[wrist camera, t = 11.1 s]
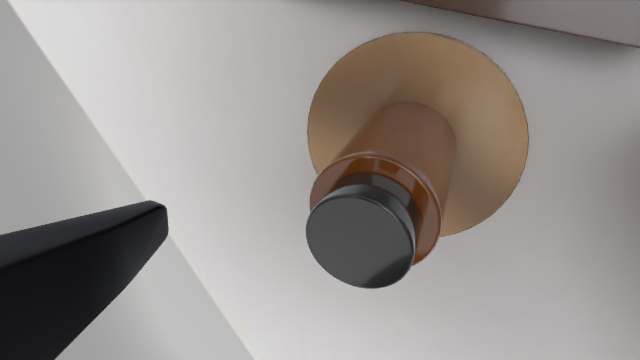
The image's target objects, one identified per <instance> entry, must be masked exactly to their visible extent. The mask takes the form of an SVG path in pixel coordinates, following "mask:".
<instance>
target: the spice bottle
mask: <svg viewBox="0 0 640 360" xmlns="http://www.w3.org/2000/svg"><path fill="white" fill-rule="evenodd" d="M456 156H457V142H456V137H455V134H454V132H453V130H452V128H451V126H450V125H449V123H448V122H447V121H446V119H445V118H444V117H443V116H442V115H441V114H439V113H438V112H437V111H435V110H434V109H432V108H430V107H428V106H426V105H423V104H420V103H415V102H397V103H392V104H389V105H386V106H384V107H382V108H380V109H379V110H377V111H376V112H375V113H374V114H373V115H371V117H370V118H369V119H368V120H367V121H366V122H365V123H364V124H363V125H362V127H361V128H360V129H359V130H358V131H357V132H356V133H355V134H354V135H353V137H352V138H351V139H350V140H349V141H348V142H347V143H346V144H345V145H344V147H343V148H342V149H341V150H340V151H339V152H338V153H337V154H336V155H335V157H334V158H333V159H332V160H331V161H330V162H329V163H328V164H327V165H326V167H325V168H324V169H323V170H322V171H321V172H320V173H319V175H318V176H317V178H316V179H315V181H314V184H313V186H312V189H311V193H310V214H309V217H308V220H307V224H306V238H307V243H308V246H309V248H310V250H311V253H312V254H313V256H314V258H315V259H316V260H317V262H318V263H319V264H320V265H321V266H322V267H323V268H324V269H325V270H326V271H327V272H328V273H329V274H331V275H332V276H333V277H335V278H337V279H338V280H340V281H342V282H344V283H346V284H349V285H352V286H355V287H359V288H366V289H376V288H383V287H387V286H390V285H392V284H394V283H396V282H398V281H399V280H401V279H402V278H403V277H404V276H405V275H406V274H407V273H408V271H409V270H410V268H411V266H413V265H415V264H417V263H419V262H420V261H422V260H423V259H424V258H426V257H427V256H428V255H429V254H430V253H431V251H432V250H433V249H434V247H435V246H436V244H437V242H438V240H439V236H440V233H441V229H442V224H443V219H444V214H445V209H446V205H447V200H448V195H449V190H450V186H451V181H452V176H453V171H454V167H455V162H456Z"/></svg>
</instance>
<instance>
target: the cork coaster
mask: <svg viewBox="0 0 640 360" xmlns="http://www.w3.org/2000/svg"><path fill="white" fill-rule="evenodd" d="M397 102H415V103H420V104H423V105H426V106H428V107H430V108H432V109H434V110H435V111H437V112H438V113H439V114H441V115H442V116H443V117H444V118H445V119H446V121H447V122H448V123H449V125H450V126H451V128H452V130H453V132H454V134H455V137H456V142H457V156H456V162H455V167H454V171H453V176H452V181H451V186H450V190H449V195H448V200H447V205H446V209H445V214H444V219H443V224H442V229H441V233H440V236H439V237H443V236H448V235H451V234H455V233H459V232H461V231H464V230H466V229H469V228H471V227H473V226H475V225H477V224H479V223H480V222H482V221H484V220H485V219H486V218H488V217H489V216H491V215H492V214H493V213H494V212H495V211H496V210H498V209H499V208H500V207H501V206H502V205H503V204H504V202H505V201H506V200H507V199H508V198H509V196H510V195H511V194H512V192H513V190H514V189H515V187H516V185H517V184H518V182H519V180H520V177H521V175H522V172H523V170H524V167H525V163H526V159H527V154H528V142H529V137H528V125H527V120H526V116H525V112H524V108H523V105H522V102H521V100H520V98H519V95H518V93H517V91H516V89H515V88H514V86H513V85H512V83H511V81H510V80H509V78H508V77H507V76H506V75H505V73H504V72H503V71H502V70H501V69H500V68H499V66H498V65H496V64H495V63H494V62H493V61H492V60H491V59H490V58H488V57H487V56H486V55H485V54H483V53H482V52H480V51H479V50H477V49H475V48H474V47H472V46H470V45H468V44H466V43H464V42H462V41H459V40H457V39H454V38H451V37H447V36H444V35H441V34H434V33H427V32H404V33H396V34H390V35H387V36H383V37H380V38H376V39H374V40H372V41H369V42H367V43H365V44H363V45H361V46H359V47H357V48H356V49H354V50H353V51H351V52H349V53H348V54H347V55H345V56H344V57H343V58H342V59H341V60H339V61H338V62H337V63H336V64H335V65H334V66H333V67H332V69H331V70H330V71H329V72H328V73H327V75H326V76H325V78H324V79H323V80H322V82H321V83H320V85H319V87H318V89H317V91H316V93H315V96H314V98H313V101H312V104H311V108H310V112H309V117H308V129H307V134H308V146H309V151H310V156H311V159H312V162H313V166H314V168H315V170H316V173H317V175H319V173H320V172H321V171H322V170H323V169H324V168H325V167H326V165H327V164H328V163H329V162H330V161H331V160H332V159H333V158H334V157H335V155H336V154H337V153H338V152H339V151H340V150H341V149H342V148H343V147H344V145H345V144H346V143H347V142H348V141H349V140H350V139H351V138H352V137H353V135H354V134H355V133H356V132H357V131H358V130H359V129H360V128H361V127H362V125H363V124H364V123H365V122H366V121H367V120H368V119H369V118H370V117H371V115H373V114H374V113H375V112H376V111H377V110H379V109H380V108H382V107H384V106H386V105H389V104H392V103H397Z"/></svg>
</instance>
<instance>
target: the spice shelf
mask: <svg viewBox="0 0 640 360" xmlns="http://www.w3.org/2000/svg"><path fill="white" fill-rule="evenodd" d="M399 1H404V2H409V3H414V4H420V5H425V6H430V7H435V8H440V9H445V10H450V11H455V12H460V13H465V14H470V15H475V16H480V17H485V18H490V19H495V20H500V21H505V22H510V23H515V24H520V25H525V26H530V27H536V28H541V29H546V30H551V31H556V32H561V33H566V34H571V35H576V36H581V37H586V38H591V39H596V40H601V41H606V42H611V43H616V44H621V45H626V46H631V47H636V48H640V0H399Z"/></svg>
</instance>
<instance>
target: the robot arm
mask: <svg viewBox="0 0 640 360" xmlns="http://www.w3.org/2000/svg"><path fill="white" fill-rule="evenodd" d="M168 230H169V229H168V217H167V209H166V207H165V206H164V205H162V204H160V203H157V202H155V201H151V200H149V201H145V202H140V203H136V204H132V205H128V206H124V207H119V208H114V209H110V210H106V211H102V212H97V213H93V214H89V215H84V216H80V217H76V218H71V219H67V220H63V221H58V222H54V223H50V224H46V225H41V226H37V227H33V228H29V229H24V230H20V231H15V232H11V233H7V234H3V235H0V360H55V359H56V357H58V356H59V355H60V353H61V352H62V351H63V350H64V349H65V348H66V347H67V346H68V345H69V344H70V343H71V342H72V341H73V340H74V339H75V338H76V337H77V336H78V335H79V334H80V333H81V332H82V331H83V330H84V329H85V328H86V327H87V326H88V325H89V324H90V323H91V322H92V321H93V320H94V319H95V318H96V317H97V316H98V315H99V314H100V313H101V312H102V311H103V310H104V309H105V308H106V307H107V306H108V305H109V304H110V303H111V302H112V301H113V300H114V299H115V298H116V297H117V296H118V295H119V294H120V293H121V292H122V291H123V290H124V289H125V288H126V286H127V285H128V284H129V283H130V282H131V281H132V280H133V278H134V277H135V276H136V275H137V274H138V272H139V271H140V270H141V269H142V267H143V266H144V265H145V263H147V261H148V260H149V259H150V258H151V256H152V255H153V254H154V252H155V251H156V250H157V249H158V248H159V247H160V245H161V244H162V243H163V241H164V240H165V239H166V237H167V235H168Z"/></svg>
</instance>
